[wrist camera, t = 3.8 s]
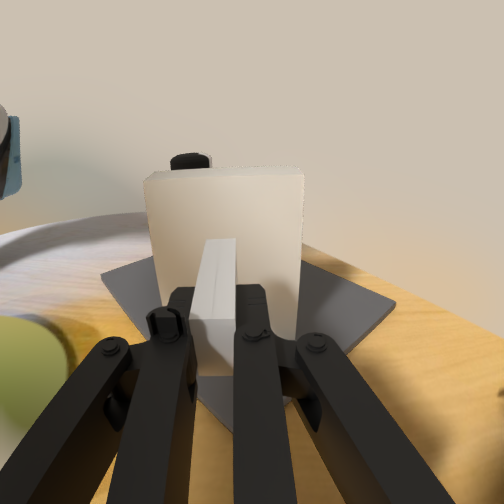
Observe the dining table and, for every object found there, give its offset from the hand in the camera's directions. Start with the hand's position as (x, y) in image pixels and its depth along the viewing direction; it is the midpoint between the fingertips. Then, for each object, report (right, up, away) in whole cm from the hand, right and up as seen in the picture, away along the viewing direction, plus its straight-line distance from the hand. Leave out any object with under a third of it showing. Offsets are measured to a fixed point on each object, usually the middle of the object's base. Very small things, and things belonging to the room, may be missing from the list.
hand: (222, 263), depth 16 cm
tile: (0, -6, +9) cm, 11 cm away
